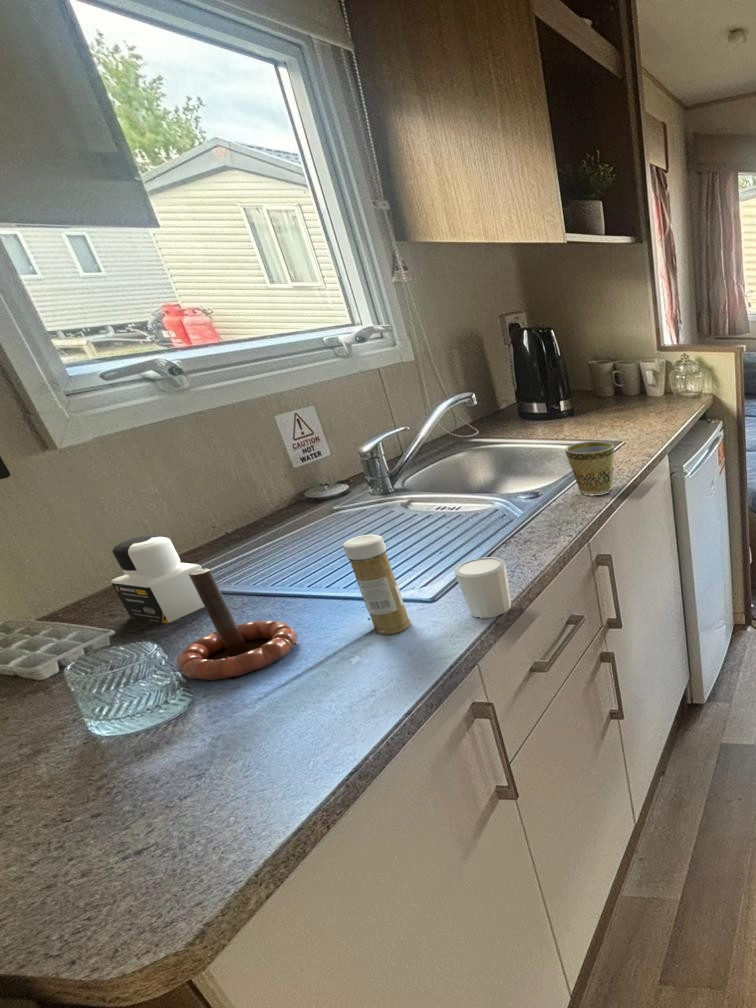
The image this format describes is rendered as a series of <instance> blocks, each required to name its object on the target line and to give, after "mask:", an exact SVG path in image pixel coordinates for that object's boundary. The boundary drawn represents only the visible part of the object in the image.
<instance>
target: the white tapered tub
mask: <svg viewBox="0 0 756 1008" xmlns="http://www.w3.org/2000/svg"><path fill="white" fill-rule="evenodd" d="M453 573H454V575H455V578H456V581H457V583H458V586H459V588H460V591H461V593H462V596H463V598H464V600H465V602H466V605H467V608H468V611H469V613H470V616H472V615H473V616H472V617H474V616H475V617H474V618H476V617H480V618H479V619H488V618H489V619H490V618H494V617H498V616H500V615H503V614H505V613H506V612H508V611H509V610H510V609H511V607H512V600H511V593H510V585H509V577H508V571H507V564H506V561H505V559H503V558H500V557H493V556H487V557H478V558H474V559H470V560H467V561H464V562H462V563H460V564H458V565H457V566H456V567H455V568H454V569H453Z"/></svg>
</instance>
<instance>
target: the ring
mask: <svg viewBox="0 0 756 1008" xmlns="http://www.w3.org/2000/svg"><path fill="white" fill-rule="evenodd" d="M236 625H237V627H238V629H239V631H240V633H241V635H242V637H243V639H244V642H246V641H252V640H258V639H271V640H270V641H269V642H267V643H265V644H264V645H262V646H260V647H259V648H257V649H254V650H252V651H249V652H246V653H243V654H240V655H238V656H234V657H228V658H223V659H217V660H208V659H207V658H208V657H210V656H211V655H213V654H215V653H217V652H218V651H220V650H222V649H224V648H225V647H224V645H223V643H222V641H221V639H220V637H219V635H218V632H217V630H215V631H214V632H209V633H208V634H207V635H204V636H203V637H201V638H199V639H197V640H195V641H194V642H192V643H190V644H188V645H187V646H186V648H184V650H183V651H182V652H181V654H180V655H179V656H178V657H177V659H176V665H177V667H178V669H180V670H181V671H182V672H181V671H180V672H181V673H182V674H183V675H184V676H185V677H187V678H189V679H196V680H207V681H217V680H223V679H224V678H229V677H234V676H240V675H242V676H243V675H246V674H249V673H252V672H254V671H257V670H259V669H262V668H265V667H268V666H270V665H273V663H275V662H277V661H278V660H280V659H281V658H283V657H285V656H286V655H288V654H289V653H290V652H291V650H292V649H293V647H294V646H295V645H294V643H295V642H297V640H298V633H297V632H296V630H295V629H294V628H293V627H291V626H290V625H289V624H287V623H286V622H283V621H275V620H257V621H249V622H245V623H239V624H238V623H236ZM293 645H294V646H293ZM240 677H241V676H240Z"/></svg>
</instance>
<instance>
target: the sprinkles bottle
mask: <svg viewBox="0 0 756 1008" xmlns="http://www.w3.org/2000/svg"><path fill="white" fill-rule="evenodd" d="M342 547H343V551H344V553H345V556H346V558H347V559H348V561H349V562H350V565H351V568H352V570H353V573H354V577H355V580H356V584H357V587H358V588H359V591H360V594H361V596H362V599H363V602H364V605H365V608H366V610H367V612H368V614H369V616H370V619H371V623H372V625H373V631H374V632H375V633H376V634H378V635H382V636H383V635H384V636H385V635H386V636H387V635H393V634H397V633H401V632H402V631H404V630H406V629H408V627H409V626H410V625H411V619H410V618H409V616H408V612H407V610H406V607H405V604H404V599H403V597H402V593H401V591H400V588H399V585H398V583H397V581H396V577H395V575H394V572H393V570H392V566H391V563H390V561H389V558H388V555H387V547H386V544H385V541H384V538H383V536H381V535H379V534H363V535H358V536H355V537H351V538H350V539H347V540H346V541H345V542H344V543H343V544H342Z"/></svg>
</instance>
